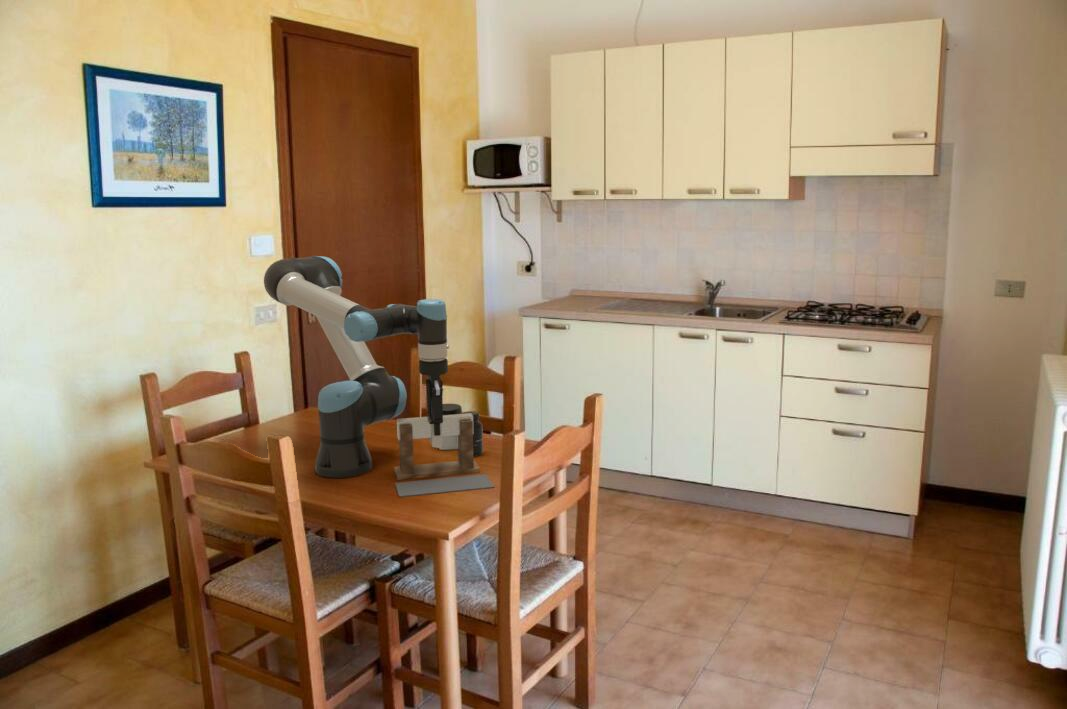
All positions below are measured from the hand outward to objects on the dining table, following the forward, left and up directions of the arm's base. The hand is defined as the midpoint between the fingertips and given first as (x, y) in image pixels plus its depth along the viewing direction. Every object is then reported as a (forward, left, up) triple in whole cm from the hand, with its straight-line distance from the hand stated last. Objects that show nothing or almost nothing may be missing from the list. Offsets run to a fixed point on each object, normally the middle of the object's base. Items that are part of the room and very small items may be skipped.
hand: (435, 444), depth 226 cm
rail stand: (0, 0, -8) cm, 8 cm away
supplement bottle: (+12, +13, -8) cm, 19 cm away
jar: (+7, +22, -8) cm, 24 cm away
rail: (0, 0, +2) cm, 2 cm away
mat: (0, -12, -8) cm, 14 cm away
